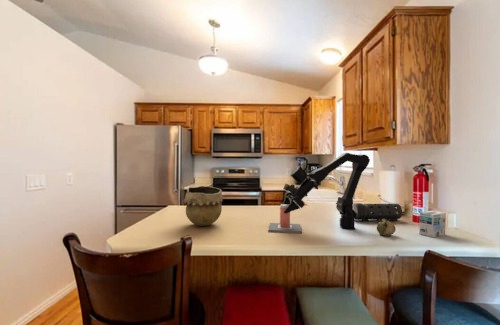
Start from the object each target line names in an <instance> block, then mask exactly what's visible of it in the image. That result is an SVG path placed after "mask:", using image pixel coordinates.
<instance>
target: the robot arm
mask: <svg viewBox="0 0 500 325" xmlns="http://www.w3.org/2000/svg"><path fill="white" fill-rule="evenodd" d="M346 162H350V163H352V164H351V166H352V167H351V168H352V170H351V174H350V176H349V179H348V182H347V184H346V187H345V190H344V193H343V195H342V196H341V197H339V196H338V198H337V201H336V202H335V206H336V210H337V211H338V213H339V215H340V218H339V226H340V228H341V229H343V230H356V227H355V220H356V219H355V218H356V216H357V213H356V212H355V211H354V210H353V204H354V196H355V193H356V190H357V187H358V185H359V181H360V179H361V176H362V173H363V172H364V171H365V170H366V169H367V168H368V165H369V164H370V158H369V156H368V155H367V154H355V153H349V152H343V153H341V154H340V155H339V156H338V157H336V158H335V159H333V160H331V161H330V162H328V163H326V164H325V165H324V166H322V167H319V168H316V169H313V170H311V171H310V172H306V171H305V170H304V169H303V167H302V166H298V167H297V168H295V169H294V170H292V171H291V173H290V174H289V176H291V177H292V179H294V181H295V182H296V183H297V184H298V183H300V185H299V186H295V184H292V183H290V184H288V183H285V184H284V186H283V190H284V191H286V192H285V193H284V200H283V202H282V204H288V207H287V208H286V210H285V211H284V213H285V214H286V213H288V212H290V213H291V212H294V211H296V210H300V209H303V208H304V207H305V202H304V201H303V199H304V198H305V197H308V194H309V193H310V192H311V191H312V190H313V189H314V190H319V184H318V183H320V182H323V181H324V180H325V179H326V178H327V177H328V175H329V174H330V173H331V172H333V171H335V170H336V169H337V168H339V167H341V166H342V165H343V164H345V163H346Z"/></svg>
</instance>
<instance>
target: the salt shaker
mask: <svg viewBox="0 0 500 325" xmlns="http://www.w3.org/2000/svg"><path fill="white" fill-rule="evenodd" d="M287 207H288V204H283V203H281V204H280V205H279V223H280V227H282V228H289V227H290V224H291V212H288V213H286V214H285V213H284V211H285V210H286V208H287Z"/></svg>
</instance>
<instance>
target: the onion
mask: <svg viewBox="0 0 500 325" xmlns="http://www.w3.org/2000/svg"><path fill="white" fill-rule="evenodd" d="M377 223H378V224H377V226H376V231H377V233H378V234H379V235H381V236H384V237H385V236H386V237H390V236H392V235H393V234H394V233H395V232H396V230H397V229H396V226H395V225H394V224H393V223H392V222H390V220H385V219H382V220H381V221H378V222H377Z"/></svg>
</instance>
